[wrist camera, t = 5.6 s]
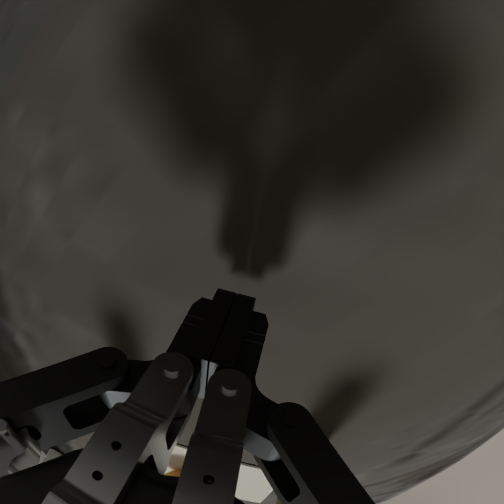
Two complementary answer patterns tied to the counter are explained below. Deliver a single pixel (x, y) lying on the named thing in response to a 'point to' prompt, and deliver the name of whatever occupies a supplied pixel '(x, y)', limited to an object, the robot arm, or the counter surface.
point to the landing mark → (249, 480)
